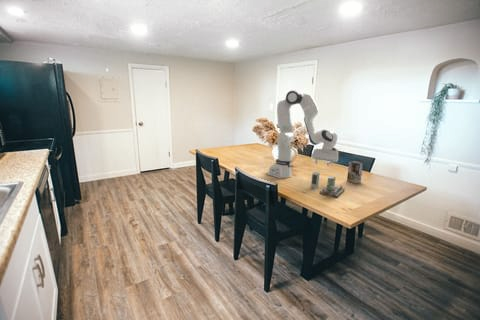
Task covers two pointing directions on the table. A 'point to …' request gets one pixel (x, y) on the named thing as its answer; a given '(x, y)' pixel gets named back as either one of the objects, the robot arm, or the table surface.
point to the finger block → (315, 180)
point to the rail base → (332, 188)
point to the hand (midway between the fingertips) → (321, 164)
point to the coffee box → (355, 171)
